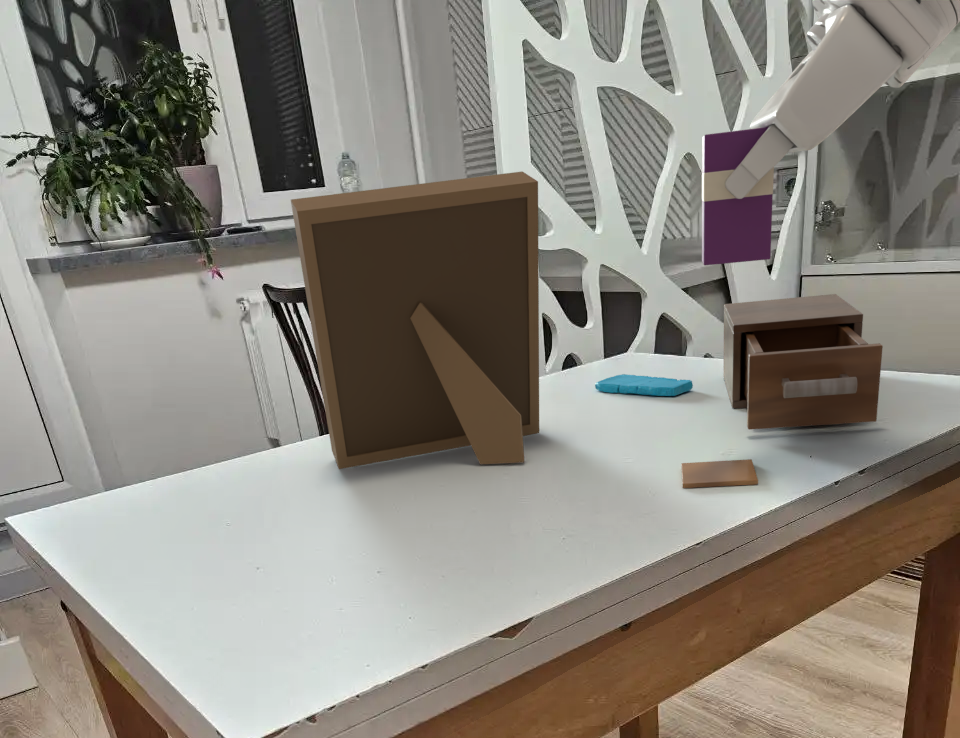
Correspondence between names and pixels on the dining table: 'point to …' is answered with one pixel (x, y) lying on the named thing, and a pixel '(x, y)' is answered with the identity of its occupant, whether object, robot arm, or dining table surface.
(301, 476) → the dining table surface
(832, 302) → the cabinet
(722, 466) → the coaster
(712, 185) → the snack carton
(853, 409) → the drawer
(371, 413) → the photo frame
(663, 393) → the sponge
